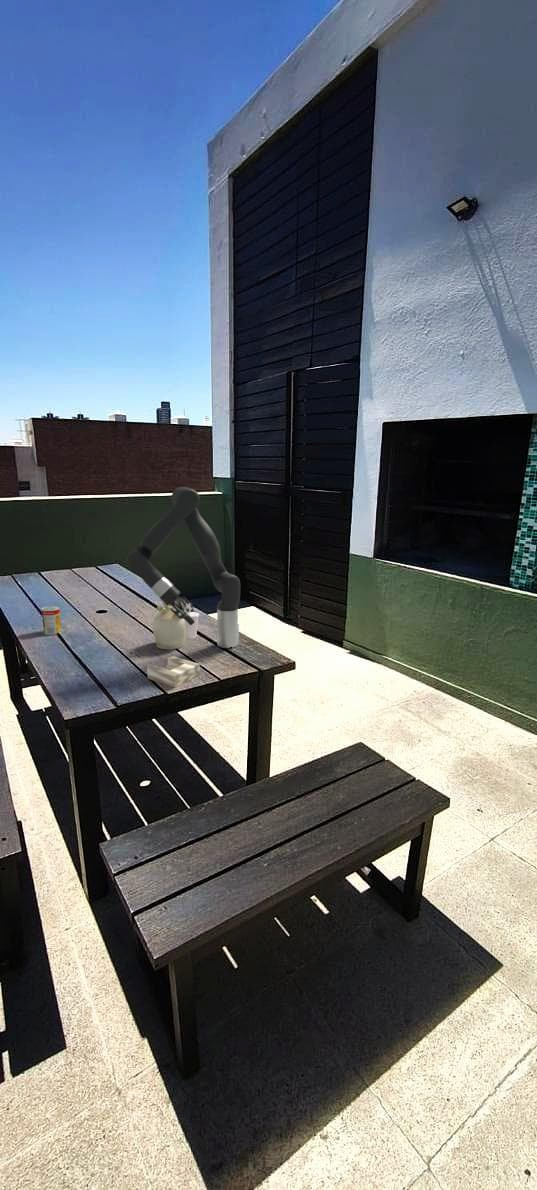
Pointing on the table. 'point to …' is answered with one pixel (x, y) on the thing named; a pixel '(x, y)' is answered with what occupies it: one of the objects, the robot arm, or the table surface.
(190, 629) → the white cup with straw
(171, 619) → the jug
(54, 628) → the canned food
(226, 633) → the robot arm
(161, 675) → the notched board
